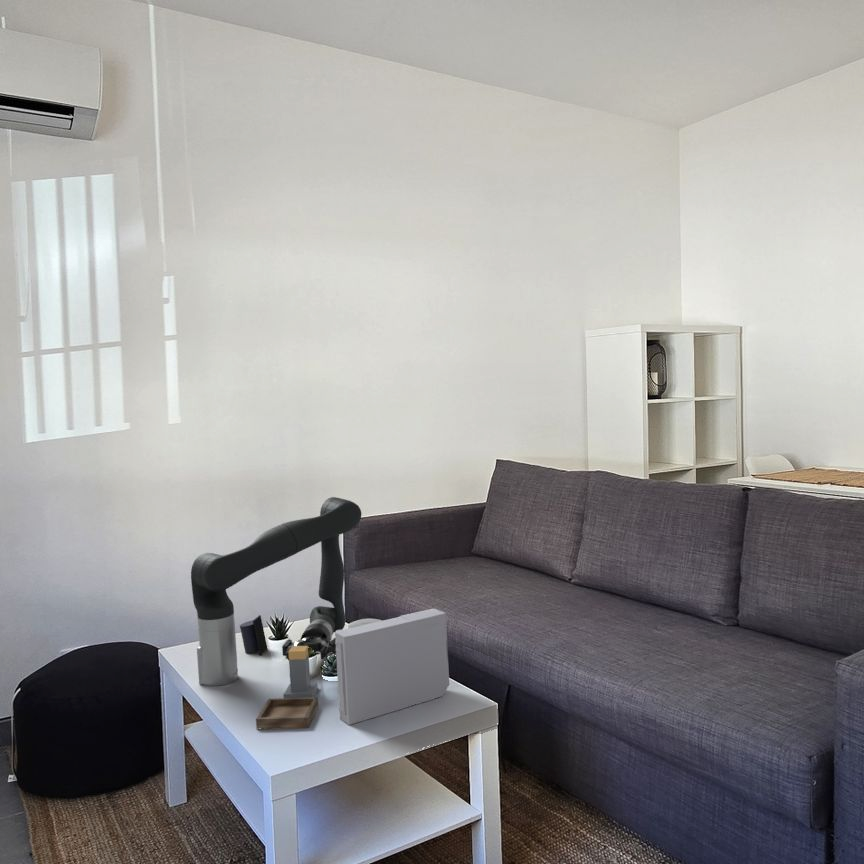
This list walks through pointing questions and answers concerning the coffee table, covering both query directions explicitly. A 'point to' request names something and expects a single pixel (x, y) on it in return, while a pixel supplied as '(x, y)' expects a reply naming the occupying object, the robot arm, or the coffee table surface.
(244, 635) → the speaker
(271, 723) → the tray
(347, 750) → the coffee table surface
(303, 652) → the plug
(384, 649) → the game console
